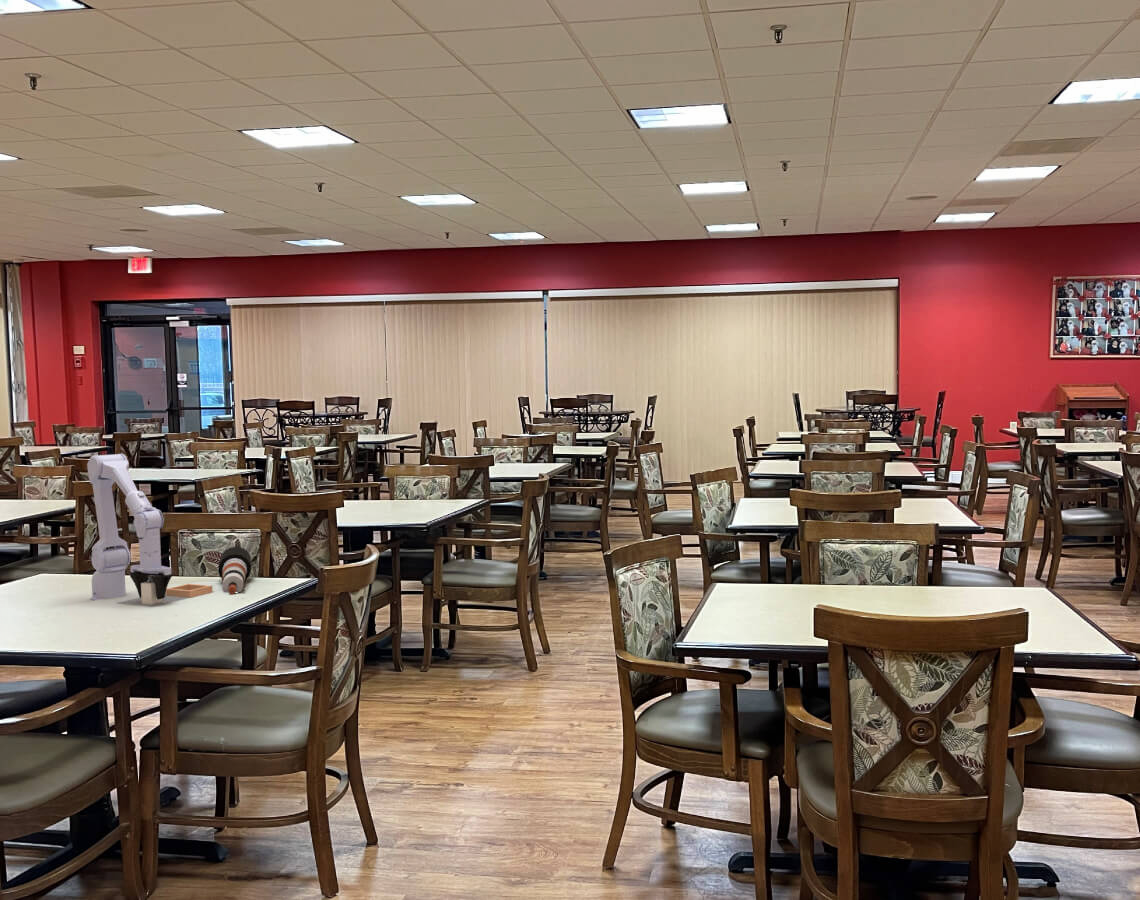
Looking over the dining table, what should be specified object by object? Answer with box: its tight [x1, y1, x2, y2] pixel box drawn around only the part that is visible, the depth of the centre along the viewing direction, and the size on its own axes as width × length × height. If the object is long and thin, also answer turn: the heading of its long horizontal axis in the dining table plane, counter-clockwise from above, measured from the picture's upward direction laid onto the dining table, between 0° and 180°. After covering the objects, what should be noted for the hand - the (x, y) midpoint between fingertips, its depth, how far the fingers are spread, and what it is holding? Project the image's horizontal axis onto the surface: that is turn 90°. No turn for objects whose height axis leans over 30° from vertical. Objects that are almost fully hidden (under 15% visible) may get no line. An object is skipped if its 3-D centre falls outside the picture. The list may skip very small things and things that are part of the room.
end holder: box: [166, 583, 214, 599], centre depth 313 cm, size 10×9×2 cm
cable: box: [217, 546, 253, 595], centre depth 327 cm, size 10×34×10 cm, turn 14°
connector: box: [141, 574, 163, 604], centre depth 300 cm, size 4×4×8 cm
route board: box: [116, 593, 209, 608], centre depth 308 cm, size 15×24×1 cm, turn 154°
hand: (152, 597), depth 300 cm, fingers open, 7 cm apart
